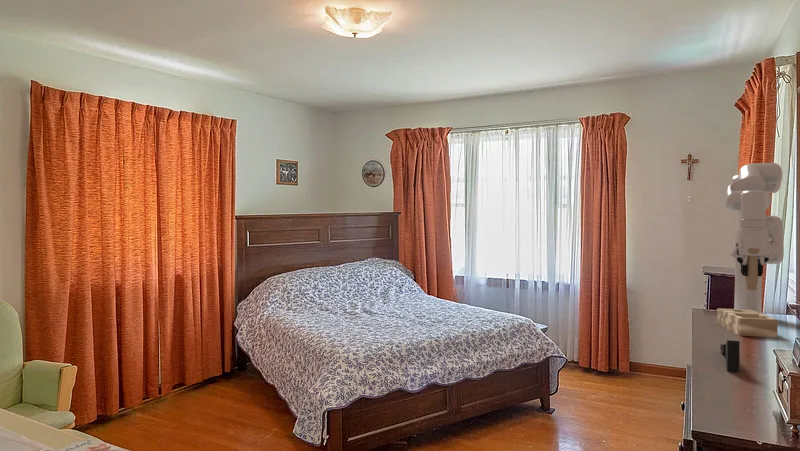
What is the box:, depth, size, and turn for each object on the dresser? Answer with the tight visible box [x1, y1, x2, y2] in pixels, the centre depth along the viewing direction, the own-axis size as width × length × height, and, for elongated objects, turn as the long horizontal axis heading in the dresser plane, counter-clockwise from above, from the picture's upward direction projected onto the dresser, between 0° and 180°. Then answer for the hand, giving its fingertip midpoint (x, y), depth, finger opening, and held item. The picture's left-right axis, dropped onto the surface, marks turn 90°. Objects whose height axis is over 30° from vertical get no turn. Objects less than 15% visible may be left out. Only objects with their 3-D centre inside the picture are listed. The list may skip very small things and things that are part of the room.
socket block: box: [716, 308, 779, 338], centre depth 200 cm, size 20×12×6 cm, turn 170°
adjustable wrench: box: [719, 339, 741, 374], centre depth 158 cm, size 8×3×25 cm
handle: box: [745, 249, 759, 290], centre depth 196 cm, size 5×6×15 cm
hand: (751, 275), depth 196 cm, fingers closed on handle, 3 cm apart
